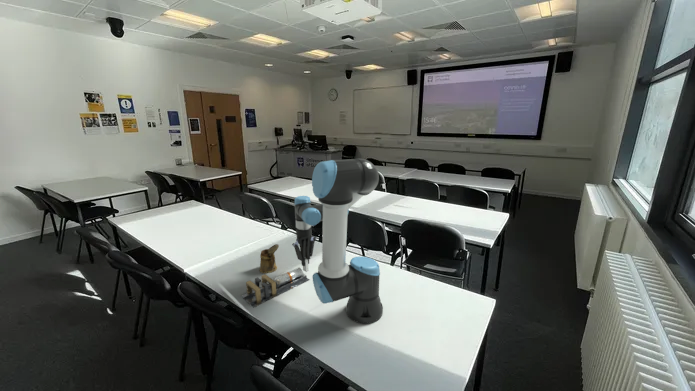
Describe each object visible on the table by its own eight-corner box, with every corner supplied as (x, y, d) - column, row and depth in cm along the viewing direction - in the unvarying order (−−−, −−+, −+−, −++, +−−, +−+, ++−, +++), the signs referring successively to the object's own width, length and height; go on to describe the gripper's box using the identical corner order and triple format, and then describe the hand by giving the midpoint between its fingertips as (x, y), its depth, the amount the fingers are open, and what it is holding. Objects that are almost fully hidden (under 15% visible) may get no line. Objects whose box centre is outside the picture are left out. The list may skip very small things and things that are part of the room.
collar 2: (276, 294, 128) (275, 281, 126) (272, 296, 126) (271, 283, 125) (266, 286, 134) (265, 274, 132) (262, 287, 132) (261, 275, 131)
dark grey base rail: (310, 281, 139) (310, 278, 139) (253, 309, 119) (253, 305, 118) (295, 272, 147) (295, 269, 147) (240, 297, 127) (240, 293, 126)
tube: (298, 275, 144) (296, 266, 144) (303, 276, 141) (301, 267, 140) (274, 286, 134) (272, 277, 134) (279, 288, 131) (277, 278, 131)
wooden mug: (270, 280, 140) (267, 247, 136) (256, 271, 149) (253, 239, 145) (285, 273, 147) (283, 241, 142) (271, 264, 156) (268, 234, 151)
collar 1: (261, 301, 122) (260, 288, 121) (257, 303, 121) (255, 290, 119) (251, 292, 129) (250, 280, 127) (247, 294, 127) (245, 282, 126)
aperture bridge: (269, 297, 125) (268, 285, 123) (266, 299, 124) (265, 286, 122) (258, 289, 131) (257, 277, 130) (256, 290, 130) (254, 278, 129)
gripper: (309, 222, 145) (311, 263, 151) (288, 228, 136) (290, 272, 142) (318, 225, 140) (320, 268, 146) (297, 233, 131) (299, 278, 137)
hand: (305, 270), depth 144 cm, fingers closed
